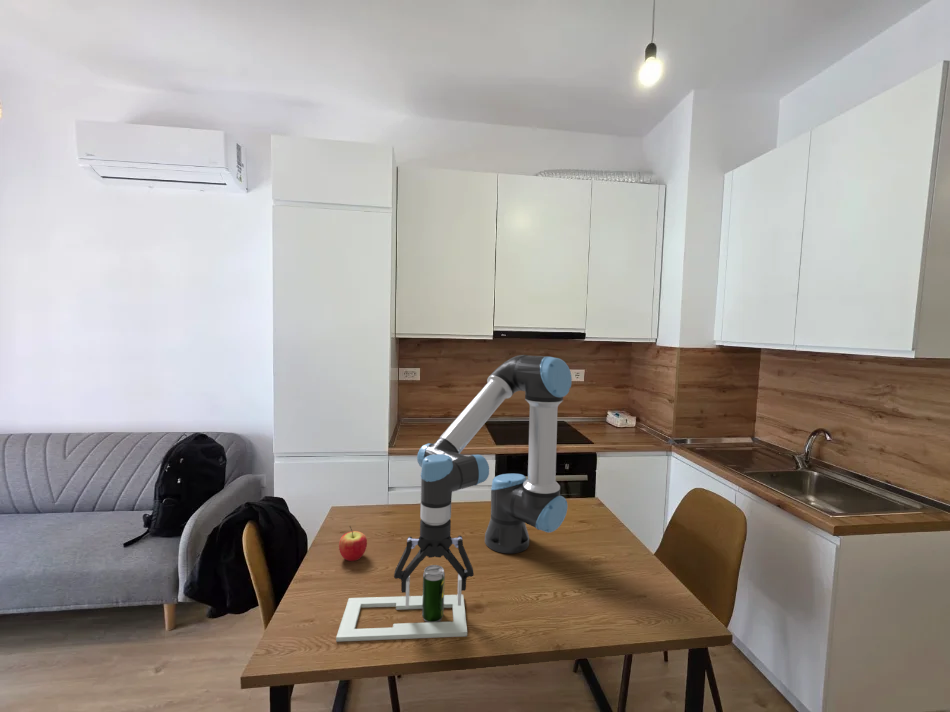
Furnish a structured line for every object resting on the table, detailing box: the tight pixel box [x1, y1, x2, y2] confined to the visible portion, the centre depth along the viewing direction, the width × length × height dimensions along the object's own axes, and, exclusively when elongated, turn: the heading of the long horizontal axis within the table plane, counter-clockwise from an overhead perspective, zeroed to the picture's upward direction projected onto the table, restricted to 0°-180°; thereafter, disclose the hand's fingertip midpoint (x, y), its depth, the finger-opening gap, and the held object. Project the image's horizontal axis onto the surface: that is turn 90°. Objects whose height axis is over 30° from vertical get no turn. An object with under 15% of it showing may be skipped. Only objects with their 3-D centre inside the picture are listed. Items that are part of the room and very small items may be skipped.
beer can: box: [421, 564, 446, 623], centre depth 103 cm, size 5×5×12 cm
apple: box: [338, 525, 368, 562], centre depth 128 cm, size 8×8×10 cm
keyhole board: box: [335, 594, 468, 642], centre depth 102 cm, size 30×14×1 cm, turn 96°
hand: (433, 603), depth 103 cm, fingers open, 12 cm apart
